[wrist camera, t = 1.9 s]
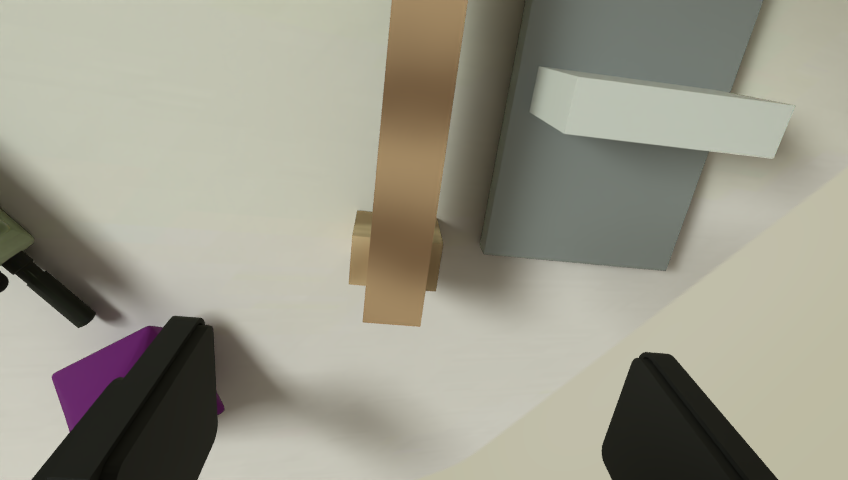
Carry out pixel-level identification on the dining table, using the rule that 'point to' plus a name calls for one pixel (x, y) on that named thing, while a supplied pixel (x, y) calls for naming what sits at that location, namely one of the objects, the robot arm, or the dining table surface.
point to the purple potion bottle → (101, 373)
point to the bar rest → (363, 243)
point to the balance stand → (619, 126)
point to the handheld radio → (37, 273)
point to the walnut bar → (411, 155)
